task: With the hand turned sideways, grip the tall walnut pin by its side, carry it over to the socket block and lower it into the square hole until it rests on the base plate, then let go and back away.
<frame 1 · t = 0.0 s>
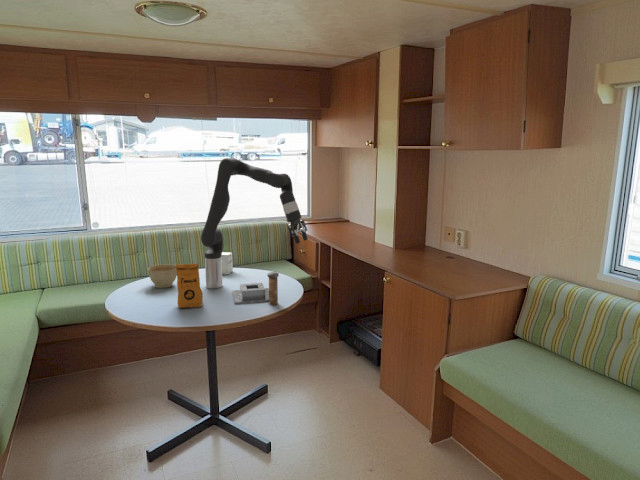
hand: (302, 241, 232), 31 cm above the table, tool tilted 20°, fingers open, 8 cm apart
planter bowl: (164, 286, 262), on the table
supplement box: (225, 273, 290), on the table
walnut pin: (273, 303, 233), on the table
socket block: (252, 296, 244), on the table
coffee package: (190, 306, 229), on the table
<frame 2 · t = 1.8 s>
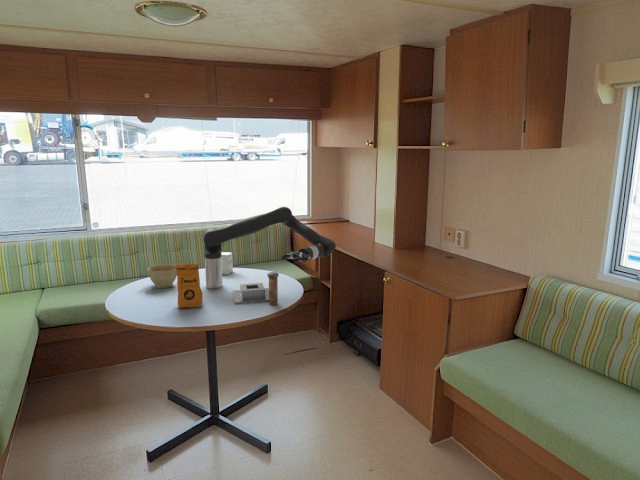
hand: (288, 258, 237), 22 cm above the table, tool horizontal, fingers open, 8 cm apart
nothing on the table moved.
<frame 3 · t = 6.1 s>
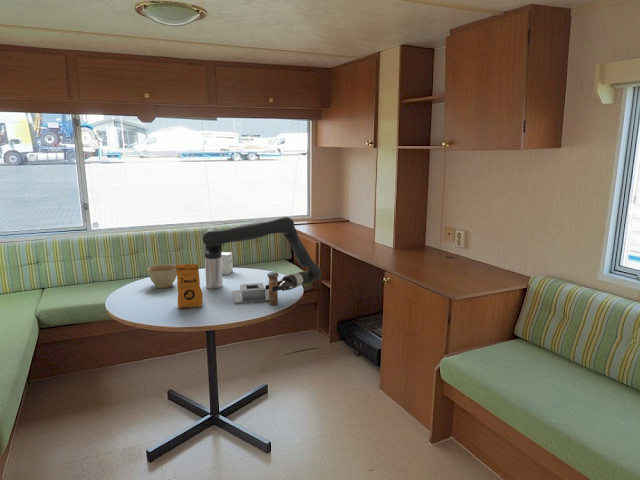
hand: (269, 288, 229), 9 cm above the table, tool horizontal, fingers closed on walnut pin, 4 cm apart
walnut pin: (273, 303, 233), on the table, touching gripper
everything else where it was.
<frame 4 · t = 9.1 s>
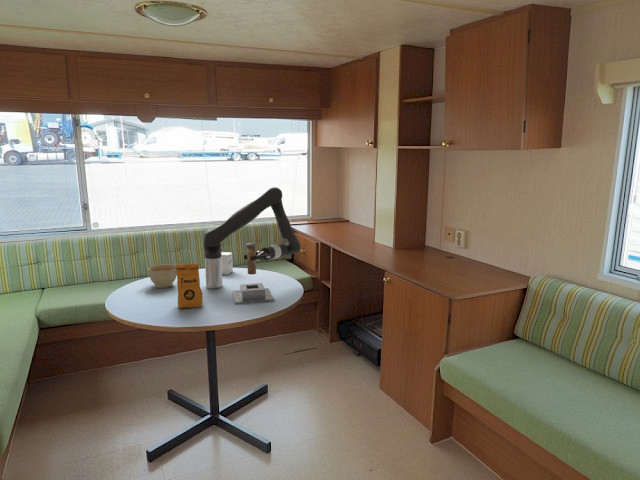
hand: (247, 258, 238), 22 cm above the table, tool horizontal, fingers closed on walnut pin, 4 cm apart
walnut pin: (251, 273, 241), point 13 cm above the table, touching gripper
everything else where it was.
when the fingers open (11 cm above the table, at t = 11.9 s): walnut pin drops 1 cm, resting on socket block.
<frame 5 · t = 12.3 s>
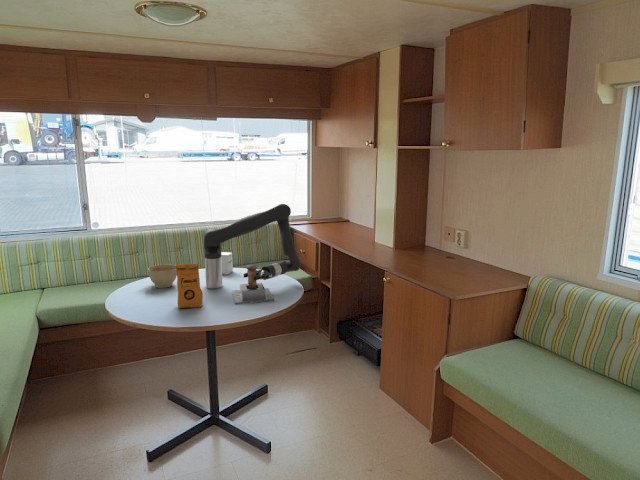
hand: (249, 277, 240), 11 cm above the table, tool horizontal, fingers open, 7 cm apart
walnut pin: (252, 294, 244), point 1 cm above the table, touching socket block
everything else where it was.
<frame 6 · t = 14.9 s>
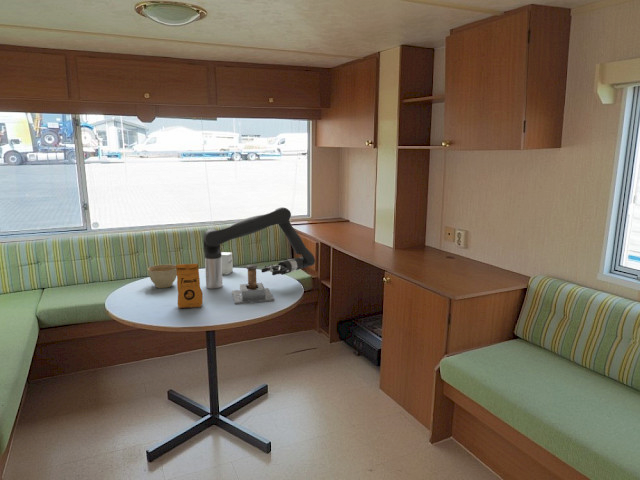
hand: (267, 272, 250), 11 cm above the table, tool horizontal, fingers open, 8 cm apart
nothing on the table moved.
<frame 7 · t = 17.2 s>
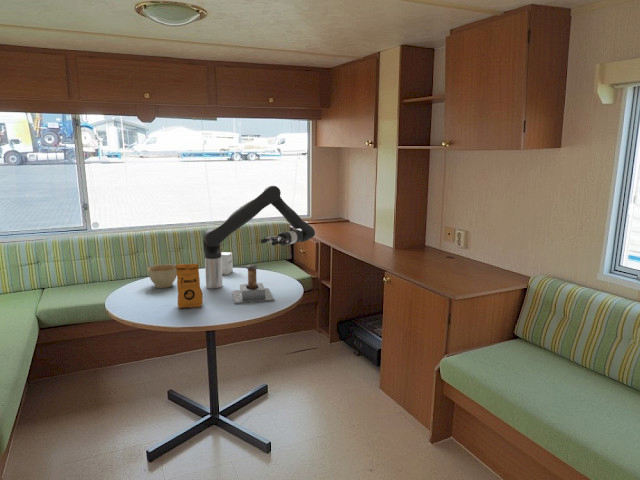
hand: (266, 242, 247), 28 cm above the table, tool horizontal, fingers open, 8 cm apart
nothing on the table moved.
at the end: walnut pin 0.1 cm off-centre on the socket block, point 1.0 cm above the socket block's base; walnut pin tilted 0°; the gripper is holding nothing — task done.
